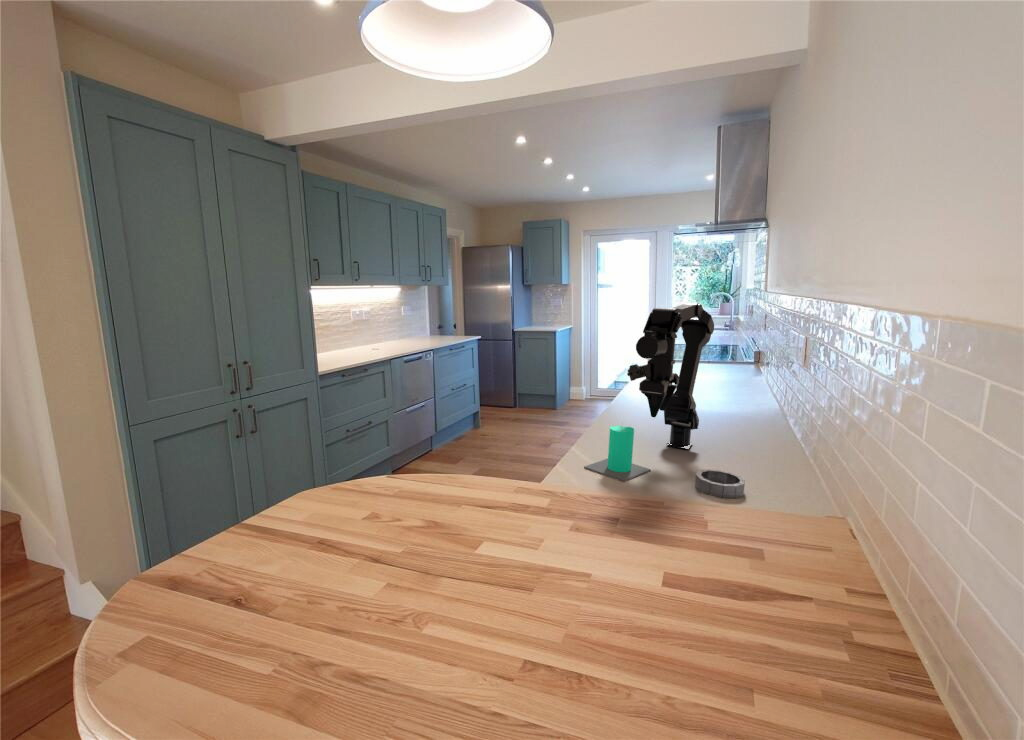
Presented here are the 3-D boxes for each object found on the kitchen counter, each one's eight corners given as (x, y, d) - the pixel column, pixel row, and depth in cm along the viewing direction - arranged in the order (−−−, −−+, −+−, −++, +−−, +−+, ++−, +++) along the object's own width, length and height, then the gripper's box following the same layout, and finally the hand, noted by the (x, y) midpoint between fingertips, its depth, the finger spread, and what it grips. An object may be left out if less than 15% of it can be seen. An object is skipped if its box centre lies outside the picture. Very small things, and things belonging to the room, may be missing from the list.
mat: (611, 458, 131) (611, 457, 131) (650, 470, 123) (650, 469, 123) (584, 468, 123) (584, 466, 123) (624, 482, 115) (624, 480, 114)
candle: (636, 469, 122) (639, 423, 120) (620, 474, 119) (623, 426, 117) (618, 462, 127) (621, 418, 125) (602, 466, 123) (605, 421, 122)
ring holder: (699, 478, 119) (700, 466, 118) (745, 487, 114) (746, 475, 113) (691, 491, 110) (692, 479, 110) (740, 502, 105) (742, 489, 104)
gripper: (641, 350, 139) (637, 403, 141) (621, 356, 123) (617, 415, 125) (681, 353, 133) (677, 409, 135) (666, 360, 117) (661, 422, 120)
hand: (657, 413), depth 129 cm, fingers open, 9 cm apart
